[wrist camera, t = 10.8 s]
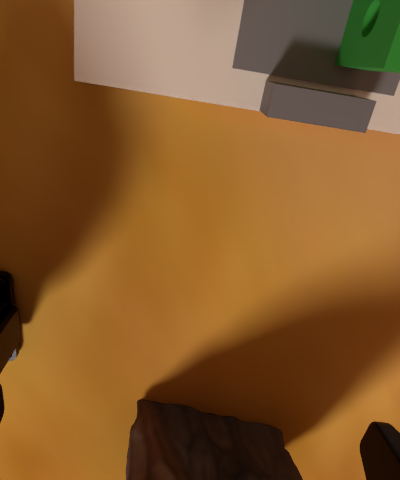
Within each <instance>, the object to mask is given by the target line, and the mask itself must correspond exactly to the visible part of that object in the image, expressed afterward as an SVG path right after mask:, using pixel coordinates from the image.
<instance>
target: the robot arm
mask: <svg viewBox="0 0 400 480" xmlns="http://www.w3.org/2000/svg"><path fill="white" fill-rule="evenodd" d="M0 278H1V279H3V280H4V281H5V282H2V281H1V280H0V373H1V372H2V370H3V368H4V367H5V365H6V364H7V362H8V361H12V360H14V359H15V358H16V357H17V355H18V354H19V343H20V341H21V333H20V321H19V310H18V308H17V306H16V305H15V298H14V287H13V278H12V276H11V275H10V274H9V273H7V272H5V271H0ZM3 414H4V399H3V391H2V386H1V384H0V422H1V420H2V417H3ZM360 453H361V458H362V462H363V467H364V471H365V475H366V480H400V433H399V432H398V431H397V430H396V429H395V428H394V427H393V426H392V425H390V424H389V423H384V422H372V423H371V424H370V425H369V427H368V429H367V431H366V432H365V434H364V436H363V438H362V440H361V442H360Z"/></svg>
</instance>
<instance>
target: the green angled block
mask: <svg viewBox="0 0 400 480" xmlns="http://www.w3.org/2000/svg"><path fill="white" fill-rule="evenodd" d="M335 65H336V66H341V67H347V68H353V69H358V70H368V71H380V72H392V73H400V0H353V3H352V6H351V10H350V13H349V17H348V20H347V24H346V27H345V30H344V34H343V37H342V41H341V44H340V48H339V51H338V55H337V58H336V62H335Z"/></svg>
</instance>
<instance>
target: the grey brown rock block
mask: <svg viewBox="0 0 400 480" xmlns="http://www.w3.org/2000/svg"><path fill="white" fill-rule="evenodd" d="M137 409H138V410H137V418H136V420H135V422H134V424H133V425H132V427H131V430H130V439H129V448H128V453H127V466H126V480H303V479H302V477H301V475H300V473H299V471H298V469H297V467H296V465H295V464H294V462H293V460H292V458H291V456H290V454H289V452H288V451H287V450H286V449H285V448H284V442H283V436H282V433H281V431H280V430H278V429H277V428H275V427H272V426H270V425H265V424H260V423H247V422H241V421H239V420H238V419H237V418H235V417H232V416H217V415H215V414H211V413H202V412H199V411H197V410H195V409H194V408H192V407H189V406H184V405H177V404H162V403H157V402H154V401H147V400H138V401H137Z"/></svg>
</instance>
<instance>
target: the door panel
mask: <svg viewBox="0 0 400 480" xmlns="http://www.w3.org/2000/svg"><path fill="white" fill-rule="evenodd" d="M352 3H353V0H74V81H79V82H85V83H91V84H97V85H103V86H109V87H115V88H122V89H128V90H134V91H140V92H146V93H152V94H158V95H164V96H170V97H176V98H182V99H188V100H194V101H200V102H206V103H212V104H219V105H225V106H231V107H237V108H243V109H249V110H255V111H261V112H262V113H263V114H265V115H266V116H267V117H272V118H278V119H284V120H290V121H296V122H302V123H308V124H314V125H320V126H327V127H333V128H339V129H345V130H351V131H357V132H363V133H366V130H367V129H370V130H376V131H382V132H388V133H394V134H400V73H392V72H380V71H368V70H358V69H353V68H347V67H341V66H336V65H335V62H336V58H337V55H338V51H339V48H340V44H341V41H342V37H343V34H344V30H345V27H346V24H347V20H348V17H349V13H350V10H351V6H352Z"/></svg>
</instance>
